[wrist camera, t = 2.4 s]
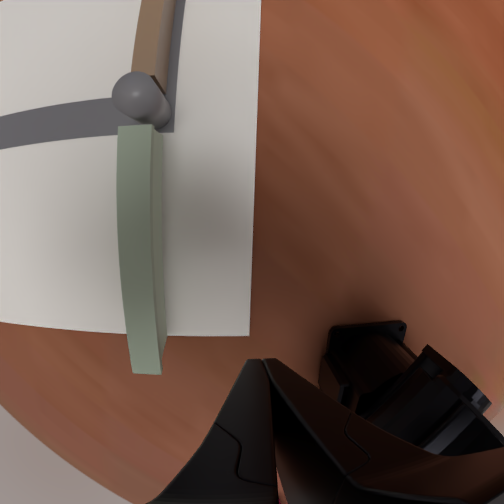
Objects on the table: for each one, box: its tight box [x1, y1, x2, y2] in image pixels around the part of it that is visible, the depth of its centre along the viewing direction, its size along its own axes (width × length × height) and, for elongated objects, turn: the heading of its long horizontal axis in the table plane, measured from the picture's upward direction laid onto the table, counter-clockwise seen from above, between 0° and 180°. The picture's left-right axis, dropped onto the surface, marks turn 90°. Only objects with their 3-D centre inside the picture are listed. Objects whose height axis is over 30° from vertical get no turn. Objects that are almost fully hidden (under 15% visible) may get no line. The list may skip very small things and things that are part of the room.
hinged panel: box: [116, 124, 167, 375], centre depth 16 cm, size 12×2×4 cm, turn 178°
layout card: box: [0, 0, 261, 336], centre depth 14 cm, size 22×26×6 cm
